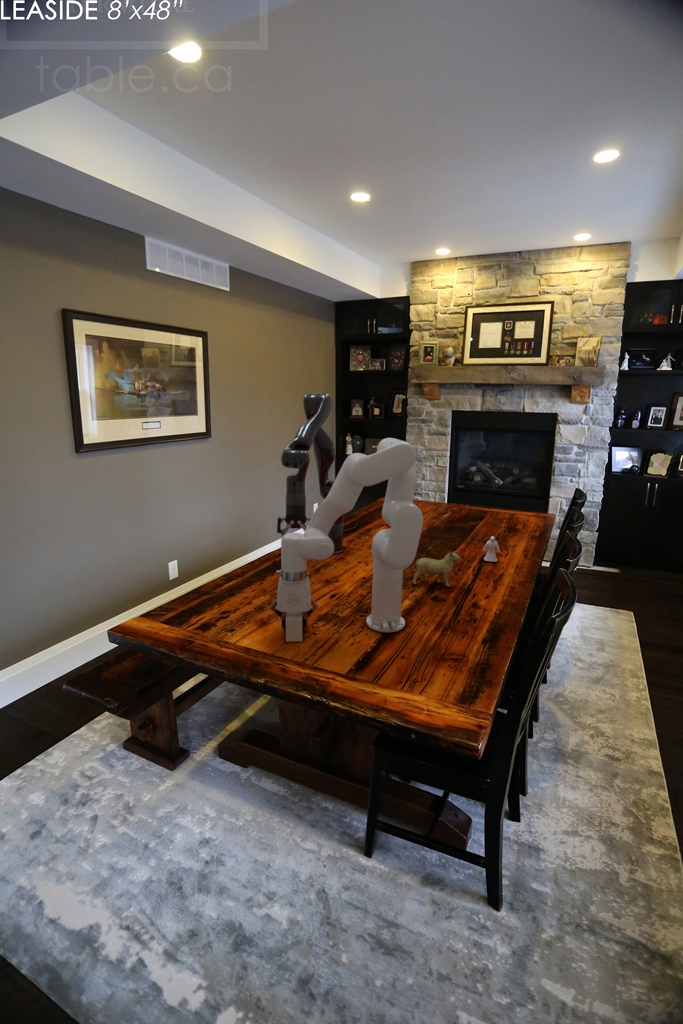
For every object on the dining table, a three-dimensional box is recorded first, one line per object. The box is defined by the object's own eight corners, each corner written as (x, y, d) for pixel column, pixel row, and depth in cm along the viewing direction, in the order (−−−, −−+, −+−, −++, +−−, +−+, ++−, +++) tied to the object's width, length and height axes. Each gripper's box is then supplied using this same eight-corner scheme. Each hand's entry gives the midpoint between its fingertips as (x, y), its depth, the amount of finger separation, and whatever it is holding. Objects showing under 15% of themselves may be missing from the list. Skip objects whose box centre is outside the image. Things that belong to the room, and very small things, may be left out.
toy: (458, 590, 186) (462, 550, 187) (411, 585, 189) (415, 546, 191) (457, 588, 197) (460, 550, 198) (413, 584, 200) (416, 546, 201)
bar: (302, 641, 151) (302, 619, 149) (285, 641, 150) (285, 620, 149) (302, 577, 201) (302, 560, 200) (290, 577, 201) (289, 560, 199)
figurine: (481, 562, 222) (483, 536, 219) (482, 556, 230) (484, 531, 227) (499, 564, 220) (501, 538, 217) (499, 558, 228) (501, 533, 225)
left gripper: (314, 500, 193) (314, 540, 197) (277, 500, 192) (277, 540, 196) (314, 504, 186) (314, 546, 190) (276, 504, 185) (276, 546, 189)
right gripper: (264, 579, 146) (265, 635, 150) (322, 578, 147) (322, 634, 152) (266, 569, 153) (267, 624, 158) (321, 569, 154) (321, 623, 159)
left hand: (295, 543), depth 193 cm, fingers open, 8 cm apart
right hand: (294, 628), depth 155 cm, fingers closed on bar, 5 cm apart
